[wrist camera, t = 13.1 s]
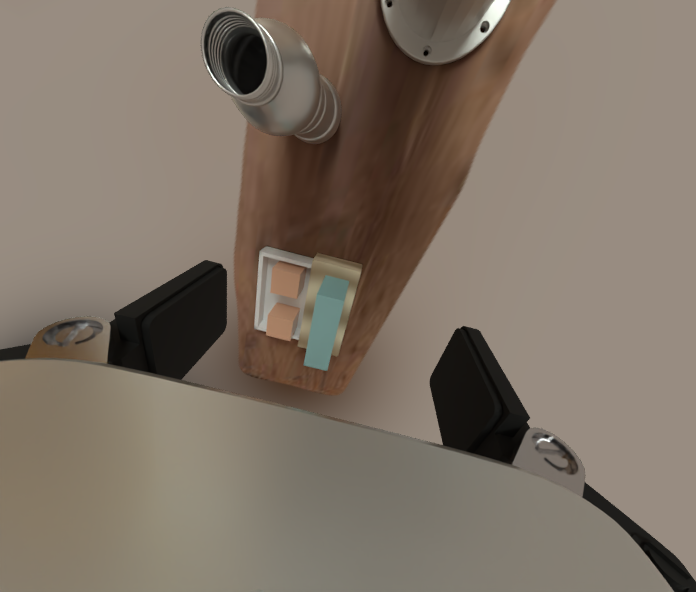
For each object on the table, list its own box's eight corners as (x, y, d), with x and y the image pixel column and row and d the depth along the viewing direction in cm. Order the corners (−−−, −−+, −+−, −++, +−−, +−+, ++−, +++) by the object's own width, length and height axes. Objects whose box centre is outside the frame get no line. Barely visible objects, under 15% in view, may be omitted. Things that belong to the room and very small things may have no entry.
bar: (325, 275, 37) (316, 294, 32) (349, 281, 37) (344, 301, 32) (312, 339, 43) (303, 365, 38) (333, 344, 43) (327, 370, 38)
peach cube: (300, 308, 44) (276, 302, 44) (293, 321, 40) (267, 314, 40) (297, 327, 45) (274, 321, 45) (290, 341, 42) (265, 335, 42)
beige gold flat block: (317, 252, 39) (312, 259, 37) (362, 264, 39) (361, 272, 37) (302, 335, 47) (297, 346, 44) (340, 345, 47) (337, 356, 44)
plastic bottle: (305, 64, 29) (190, -82, 11) (355, 104, 30) (321, 28, 13) (280, 122, 32) (157, 78, 14) (327, 156, 33) (267, 155, 15)
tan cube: (307, 264, 40) (281, 258, 40) (300, 274, 36) (272, 267, 36) (303, 287, 42) (279, 281, 42) (296, 299, 38) (270, 292, 38)
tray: (266, 246, 40) (259, 251, 37) (316, 258, 40) (312, 264, 37) (260, 320, 46) (254, 328, 44) (303, 331, 46) (299, 340, 44)
